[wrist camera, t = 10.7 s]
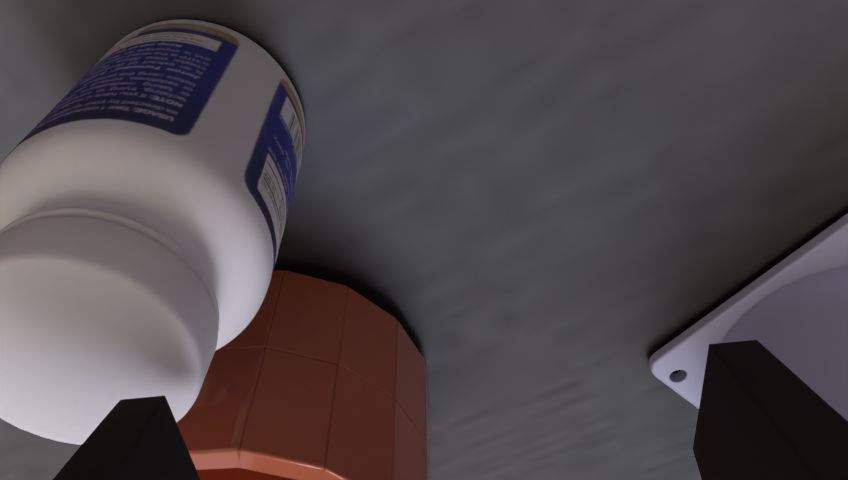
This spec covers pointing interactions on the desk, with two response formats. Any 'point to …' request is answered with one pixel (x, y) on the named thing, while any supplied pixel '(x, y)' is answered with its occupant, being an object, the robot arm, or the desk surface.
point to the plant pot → (313, 393)
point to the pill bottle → (142, 225)
